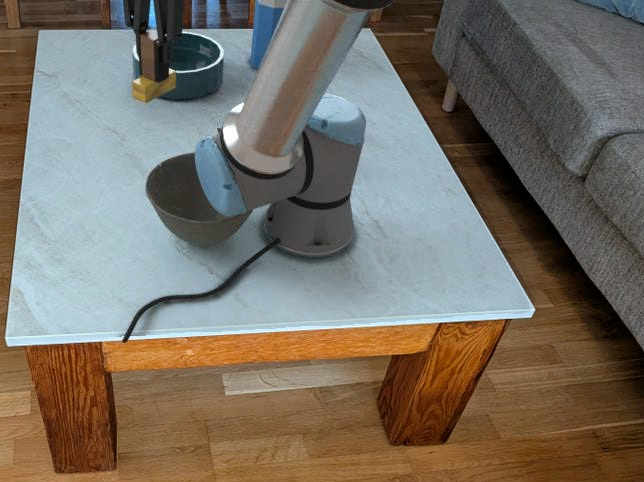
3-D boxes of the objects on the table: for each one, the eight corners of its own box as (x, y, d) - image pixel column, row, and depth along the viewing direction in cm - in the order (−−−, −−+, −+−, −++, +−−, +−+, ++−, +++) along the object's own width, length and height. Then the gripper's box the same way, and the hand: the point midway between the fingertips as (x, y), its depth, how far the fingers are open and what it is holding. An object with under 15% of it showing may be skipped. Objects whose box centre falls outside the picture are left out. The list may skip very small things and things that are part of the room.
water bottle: (287, 75, 154) (302, -47, 135) (247, 69, 155) (256, -52, 136) (292, 56, 160) (307, -62, 141) (253, 52, 161) (263, -67, 142)
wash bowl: (182, 112, 141) (182, 82, 136) (116, 80, 149) (113, 51, 144) (239, 79, 152) (242, 50, 147) (174, 52, 159) (174, 23, 154)
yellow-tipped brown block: (145, 103, 116) (143, 45, 109) (132, 98, 117) (129, 39, 110) (176, 87, 120) (176, 30, 113) (163, 81, 122) (162, 24, 114)
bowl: (174, 190, 123) (173, 141, 115) (271, 217, 119) (277, 168, 111) (127, 251, 111) (123, 200, 104) (233, 283, 107) (237, 233, 99)
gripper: (208, -73, 98) (203, 83, 115) (128, -98, 104) (135, 54, 122) (174, -60, 94) (175, 99, 111) (93, -87, 100) (105, 68, 118)
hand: (154, 75), depth 117 cm, fingers closed on yellow-tipped brown block, 3 cm apart
